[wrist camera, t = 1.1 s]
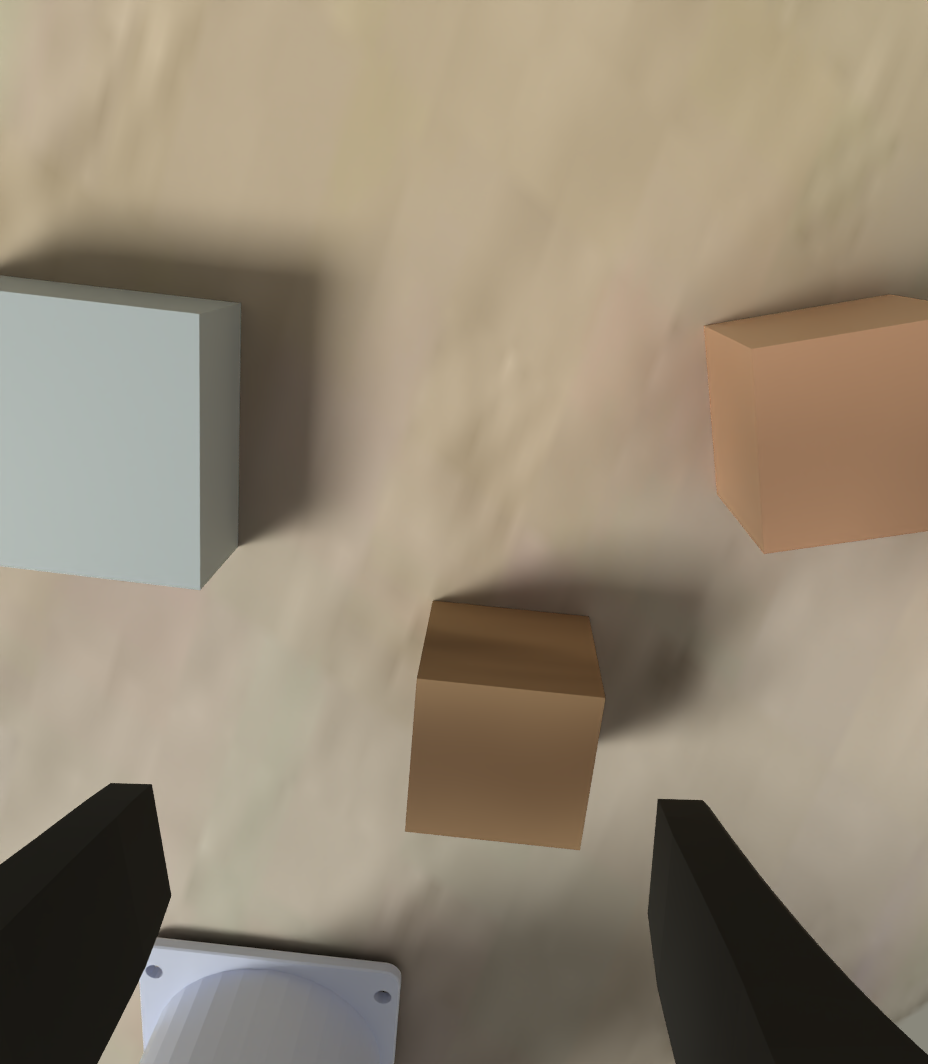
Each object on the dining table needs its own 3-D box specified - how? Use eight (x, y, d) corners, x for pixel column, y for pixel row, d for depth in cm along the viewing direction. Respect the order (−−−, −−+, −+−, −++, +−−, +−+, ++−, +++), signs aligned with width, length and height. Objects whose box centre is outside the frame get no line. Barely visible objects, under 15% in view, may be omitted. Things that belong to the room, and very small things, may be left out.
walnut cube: (568, 746, 23) (580, 850, 19) (422, 731, 23) (404, 831, 19) (588, 615, 21) (605, 698, 17) (432, 599, 21) (416, 678, 18)
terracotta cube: (888, 467, 20) (979, 523, 16) (716, 493, 20) (763, 554, 16) (888, 294, 18) (986, 310, 14) (703, 325, 19) (751, 348, 15)
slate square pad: (241, 542, 21) (200, 590, 18) (10, 515, 21) (-66, 557, 19) (244, 302, 19) (199, 313, 16) (-11, 272, 19) (-100, 279, 16)
